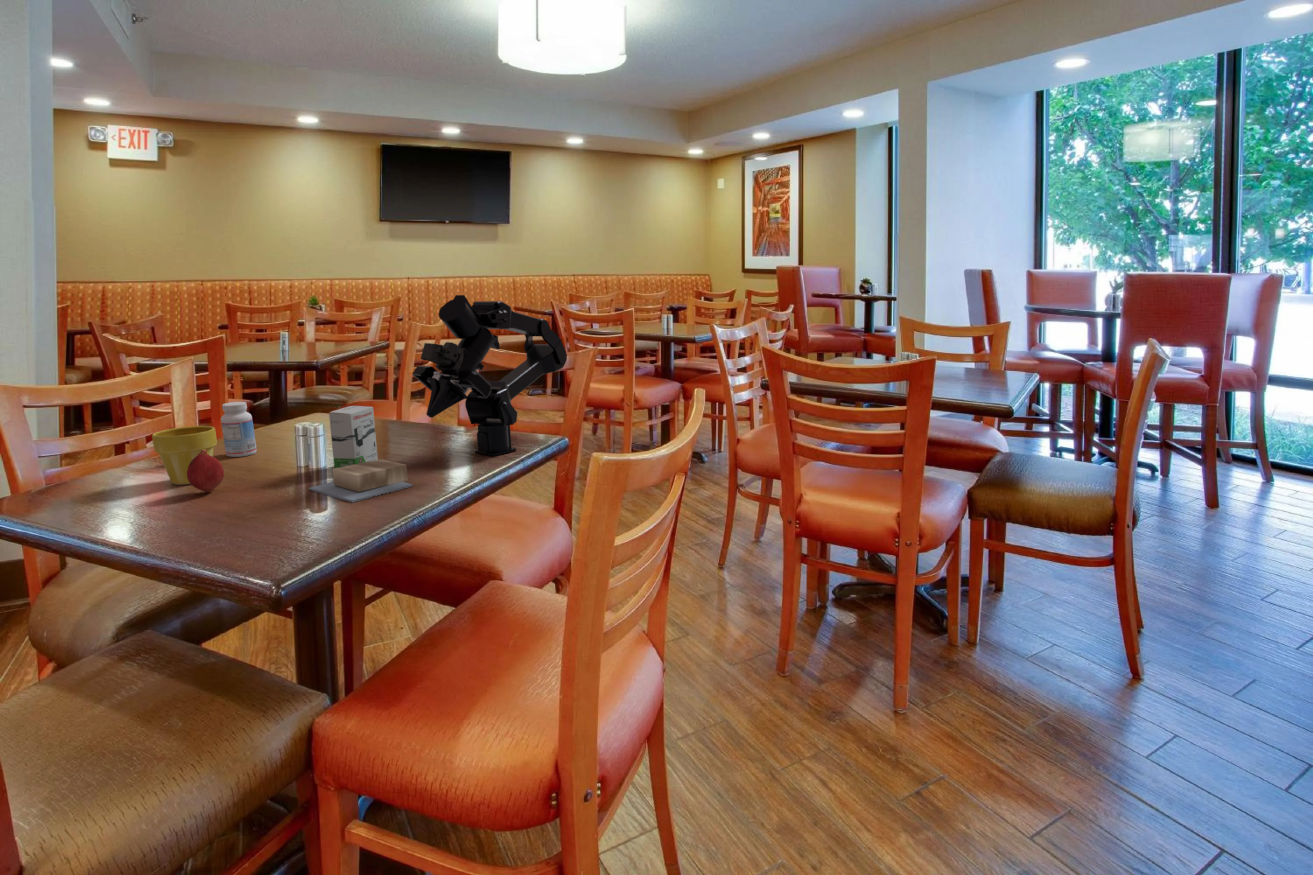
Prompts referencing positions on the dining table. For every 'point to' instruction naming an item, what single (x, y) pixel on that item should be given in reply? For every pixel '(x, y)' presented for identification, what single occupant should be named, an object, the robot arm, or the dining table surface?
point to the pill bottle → (238, 430)
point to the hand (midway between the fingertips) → (429, 416)
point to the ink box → (353, 435)
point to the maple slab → (370, 475)
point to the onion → (205, 472)
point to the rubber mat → (354, 495)
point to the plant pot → (183, 448)
